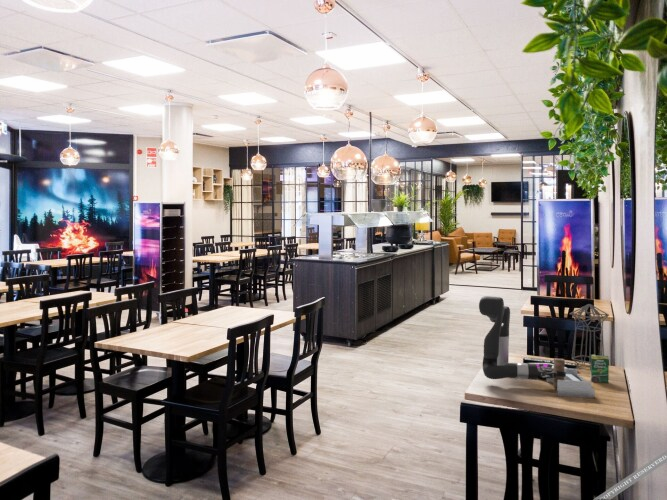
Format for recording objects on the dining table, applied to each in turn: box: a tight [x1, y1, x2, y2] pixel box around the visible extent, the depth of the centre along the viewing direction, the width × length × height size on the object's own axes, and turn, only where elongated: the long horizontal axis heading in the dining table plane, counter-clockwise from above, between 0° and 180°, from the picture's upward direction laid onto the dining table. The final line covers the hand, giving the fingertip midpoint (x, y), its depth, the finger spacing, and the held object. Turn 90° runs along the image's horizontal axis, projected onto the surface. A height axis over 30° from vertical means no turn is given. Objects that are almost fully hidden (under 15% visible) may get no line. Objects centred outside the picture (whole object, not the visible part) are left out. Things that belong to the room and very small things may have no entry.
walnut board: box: [552, 357, 566, 390], centre depth 251 cm, size 4×3×14 cm
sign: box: [522, 357, 578, 381], centre depth 279 cm, size 27×4×30 cm
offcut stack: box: [564, 374, 580, 381], centre depth 250 cm, size 4×12×6 cm, turn 175°
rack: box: [545, 368, 595, 399], centre depth 250 cm, size 16×23×7 cm
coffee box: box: [590, 354, 610, 384], centre depth 263 cm, size 8×3×13 cm, turn 67°
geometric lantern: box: [569, 303, 610, 371], centre depth 288 cm, size 16×16×35 cm
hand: (564, 373), depth 251 cm, fingers closed on walnut board, 3 cm apart
